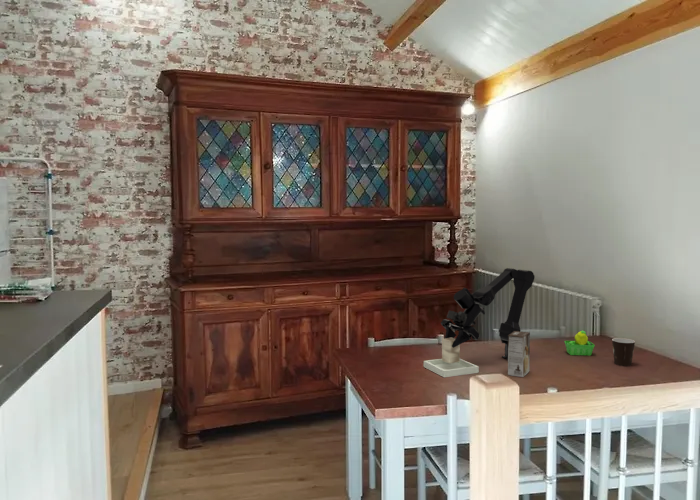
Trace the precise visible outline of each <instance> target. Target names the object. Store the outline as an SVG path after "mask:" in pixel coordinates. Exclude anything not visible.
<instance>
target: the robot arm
mask: <svg viewBox="0 0 700 500" xmlns="http://www.w3.org/2000/svg"><path fill="white" fill-rule="evenodd" d="M512 280H513V281H512ZM510 281H512V283H513V286H514V292H513V296H512V300H511V303H510V307H509V312H508V315H507V319H506V321H504V322H501V323H500V325H499V330H498V336H499V338H500V340H501V341H500V342H501V344H504V355H502V356H501V357H502V358H503V359H507V360H508V335H509V334H511V333H512V332H514V331H520V332H522V331H521V326H520V319H521V317H522V316H521V314H522V310H523V307H524V304H525V303H524V302H525V299H526V295H527V292H528V291H529V289H530V288H531V287H532V286H533V283H534V282H535V274H534V272H533V271H532V270H529V269H527V270H525V269H516V268H512V267H506V268H504V270H503V271H502V272H501V273H500V274H499V275H498V276H497V277H496V278H494V279H493V280H492V281H491V282H490V283H488V284H487V285H485V286H482V287H480V288H478V289H477V290H475V291H474V292H473V293H471V292H470V290H469V289H468V288H466V287H463V288H462V289H460V290H458V291H457V292H455V294H454V295H453V300H454V301H455V302H456V303H457V304H458V305H459V306H460V308H461V309H465V310H464V311H458V312H457V311H454V310H448V312H447V315H446V318H447V319H446V318H445V319H442V320H441V322H440V325H441V326H442V328H444V329H445V335H444V337H443V339H445V338H451V337H452V338H455V341H454V342H453V344H452V347H453V348H454V347H456V346H458V345H460V346H461V344H463V343H465V342H468V341H471V340H475V341H478V340H479V338H480V332H479V331H478V330H477V329H476V327H474V326H475V325H476V322H475V321H476V319H477V318H478V317H479V315H486V311H485V307H483V306H489V305H491V304H492V303H493V301H494V300H495V299H496V295H497V294H498V293H499V291H500V290H502V289H503V288H504V287H505V286H506V285H507V284H509V283H510ZM481 306H482V307H481ZM451 320H452V321H451ZM472 325H474V326H472ZM456 331H457V333H458V334H456Z"/></svg>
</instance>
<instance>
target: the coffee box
mask: <svg viewBox="0 0 700 500" xmlns="http://www.w3.org/2000/svg"><path fill="white" fill-rule="evenodd" d="M530 338H531V332H530V331H514V332H512V333H511V334H509V335H508V359H507V376H512V377H520V378H524V377H525V376H526V375H527V374H528V373H529V372H530V361H531V359H530V357H531V356H530V355H531V351H530V350H531V339H530Z"/></svg>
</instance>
